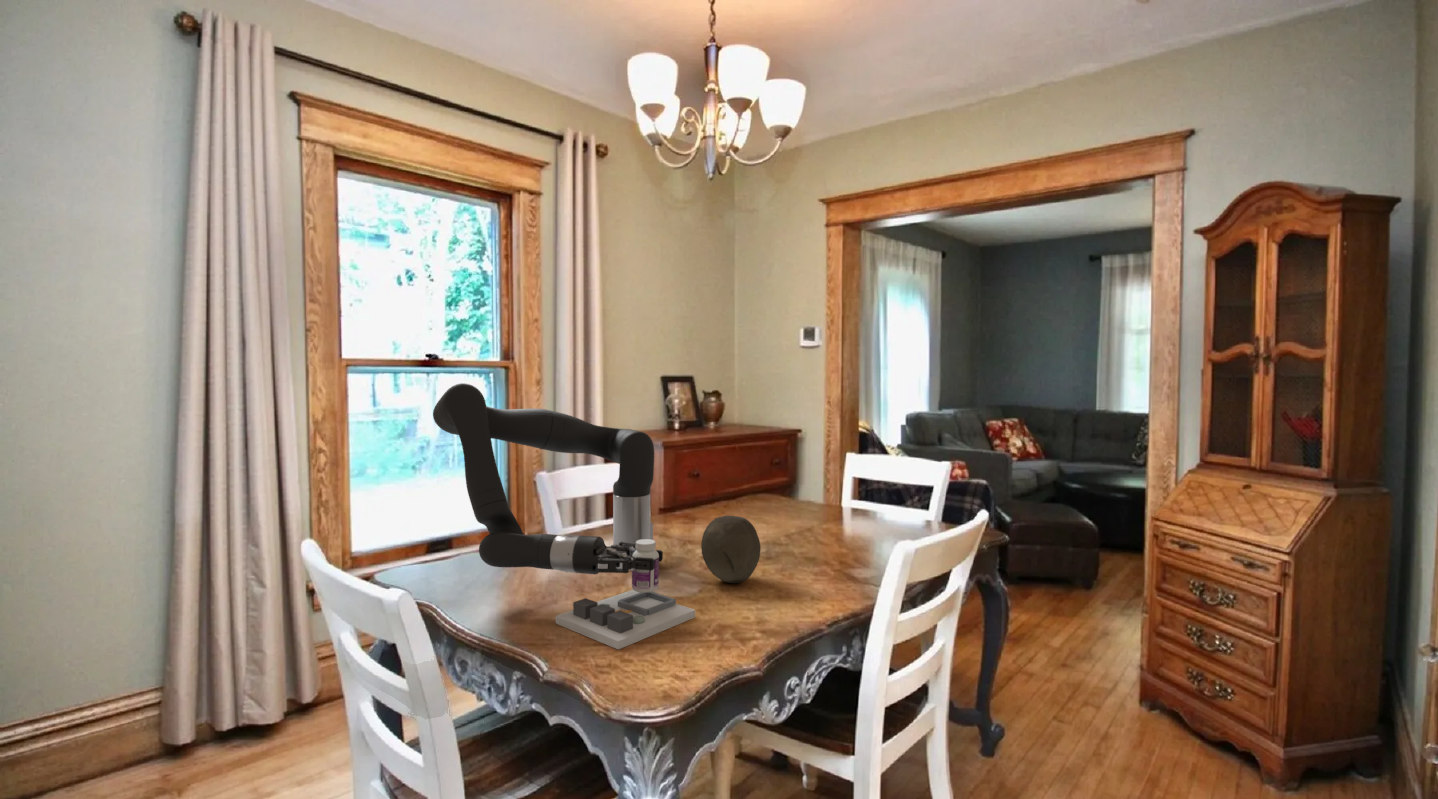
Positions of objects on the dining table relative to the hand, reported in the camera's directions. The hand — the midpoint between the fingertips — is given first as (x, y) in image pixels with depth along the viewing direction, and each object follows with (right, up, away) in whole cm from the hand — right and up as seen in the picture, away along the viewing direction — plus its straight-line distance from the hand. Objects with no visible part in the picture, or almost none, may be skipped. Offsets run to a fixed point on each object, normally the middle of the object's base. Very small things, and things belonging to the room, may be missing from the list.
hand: (657, 560), depth 135 cm
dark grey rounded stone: (+15, -10, +21) cm, 28 cm away
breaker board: (-6, -11, -3) cm, 13 cm away
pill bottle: (-3, -6, +1) cm, 7 cm away
